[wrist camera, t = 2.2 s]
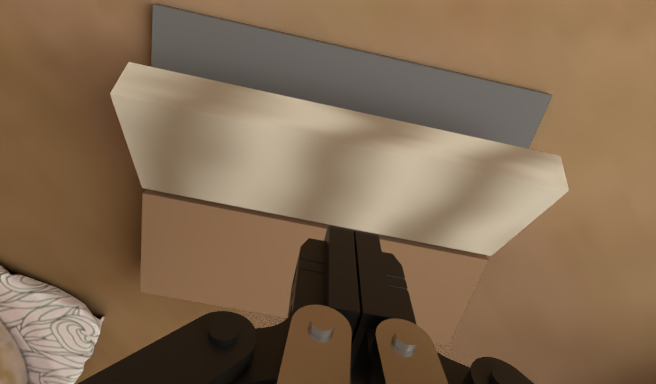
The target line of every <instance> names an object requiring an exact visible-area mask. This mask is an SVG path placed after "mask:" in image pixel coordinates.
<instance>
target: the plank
mask: <svg viewBox="0 0 656 384" xmlns="http://www.w3.org/2000/svg"><path fill="white" fill-rule="evenodd" d="M110 96H111V99H112V101H113V104H114V107H115V110H116V113H117V116H118V119H119V122H120V125H121V128H122V131H123V134H124V136H125V139H126V142H127V145H128V148H129V151H130V154H131V157H132V160H133V163H134V166H135V168H136V171H137V174H138V177H139V180H140V183H141V186H142V188H144V189H150V190H155V191H160V192H165V193H170V194H175V195H180V196H186V197H191V198H196V199H201V200H206V201H211V202H216V203H222V204H227V205H232V206H237V207H242V208H247V209H252V210H257V211H263V212H268V213H273V214H278V215H283V216H288V217H293V218H299V219H304V220H309V221H314V222H319V223H324V224H329V225H334V226H340V227H345V228H350V229H355V230H360V231H365V232H370V233H376V234H381V235H386V236H391V237H396V238H401V239H406V240H412V241H417V242H422V243H427V244H432V245H437V246H442V247H447V248H453V249H458V250H463V251H468V252H473V253H478V254H483V255H489V256H492V255H493V254H494V253H495V252H497V251H498V250H499V249H500V248H501V247H502V246H504V245H505V244H506V243H507V242H508V241H510V240H511V239H512V238H513V237H514V236H516V235H517V234H518V233H519V232H520V231H521V230H523V229H524V228H525V227H526V226H527V225H529V224H530V223H531V222H532V221H533V220H535V219H536V218H537V217H538V216H539V215H540V214H542V213H543V212H544V211H545V210H546V209H548V208H549V207H550V206H551V205H552V204H554V203H555V202H556V201H557V200H558V199H560V198H561V197H562V196H563V195H564V194H565V193H567V192H568V191H569V189H568V184H567V180H566V176H565V172H564V168H563V164H562V160H561V156H559V155H555V154H550V153H545V152H541V151H536V150H532V149H527V148H522V147H518V146H513V145H509V144H504V143H499V142H495V141H490V140H486V139H481V138H476V137H472V136H467V135H463V134H458V133H453V132H449V131H444V130H440V129H435V128H430V127H426V126H421V125H417V124H412V123H407V122H403V121H398V120H394V119H389V118H384V117H380V116H375V115H371V114H366V113H361V112H357V111H352V110H348V109H343V108H338V107H334V106H329V105H325V104H320V103H315V102H311V101H306V100H302V99H297V98H292V97H288V96H283V95H279V94H274V93H269V92H265V91H260V90H256V89H251V88H246V87H242V86H237V85H233V84H228V83H223V82H219V81H214V80H210V79H205V78H200V77H196V76H191V75H187V74H182V73H177V72H173V71H168V70H164V69H159V68H154V67H150V66H145V65H141V64H136V63H131V62H128V64H127V66H126V67H125V69H124V71H123V72H122V74H121V76H120V78H119V79H118V81H117V83H116V84H115V86H114V88H113V89H112V91H111V93H110Z"/></svg>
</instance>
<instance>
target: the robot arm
mask: <svg viewBox="0 0 656 384" xmlns="http://www.w3.org/2000/svg"><path fill="white" fill-rule="evenodd" d="M78 384H534V383H533V382H531V381H530V380H529V379H528V378H527V377H525V376H524V375H523V374H522V373H521V372H519V371H518V370H517V369H516V368H514V367H513V366H511V365H510V364H508V363H506V362H504V361H502V360H499V359H496V358H492V357H481V358H478V359H476V360H475V361H474V362H473V363H472V365H471V367H470V368H469V367H467V366H464V365H462V364H460V363H458V362H455V361H453V360H451V359H448V358H446V357H444V356H442V355H441V354H439V353H437V352H436V349H435V346H434V344H433V342H432V340H431V338H430V337H429V335H428V334H427V333H426V332H425V331H424V330H423V329H422V328H420V327H419V326H417V324H416V320H415V316H414V312H413V308H412V304H411V300H410V296H409V292H408V290H407V284H406V280H405V275H404V271H403V267H402V265H401V264H400V262H399V261H398V260H397V259H396V257H395V256H394V255H393V254H391V253H386V252H382V250H381V245H380V239H379V235H378V234H374V233H369V232H364V231H359V230H353V229H348V228H343V227H338V226H332V225H328V228H327V231H326V235H325V238H324V241H322V240H317V239H311V238H308V239H307V241H306V242H305V243H304V244H303V245H302V246H301V247H300V252H299V256H298V261H297V265H296V269H295V274H294V278H293V283H292V287H291V294H290V302H289V309H288V317H287V319H286V320H285V321H283V322H282V323H280V324H278V325H275V326H272V327H266V328H257V329H255V328H254V326H253V325H252V323H251V322H250V321H249V320H248V319H246V318H245V317H243V316H241V315H239V314H236V313H233V312H227V311H217V312H212V313H208V314H206V315H203V316H201V317H199V318H198V319H196V320H194V321H192V322H190V323H188V324H187V325H185V326H183V327H181V328H179V329H177V330H176V331H174V332H172V333H170V334H168V335H166V336H165V337H163V338H161V339H159V340H157V341H155V342H154V343H152V344H150V345H148V346H146V347H144V348H142V349H141V350H139V351H137V352H135V353H133V354H131V355H130V356H128V357H126V358H124V359H122V360H120V361H119V362H117V363H115V364H113V365H111V366H109V367H108V368H106V369H104V370H102V371H100V372H98V373H97V374H95V375H93V376H91V377H89V378H87V379H86V380H84V381H82V382H80V383H78Z"/></svg>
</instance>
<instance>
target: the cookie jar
mask: <svg viewBox="0 0 656 384" xmlns="http://www.w3.org/2000/svg"><path fill="white" fill-rule="evenodd" d="M104 318H105V317H102V318H101V319H100V320H99V319H98V318H96V317H95V316H93V315H92V313H91V312H90V310H89V309H88V308H87V306H86V305H85V304H84V303H82V302H81V301H79V300H78V299H76V298H75V297H73V296H72V295H70V294H68V293H66V292H64V291H62V290H60V289H59V288H57V287H54V286H51V285H49V284H46V283H43V282H40V281H37V280H35V279H32V278H29V277H26V276H23V275H21V274H18V273H15V272H12V271H10V270H9V269H7V268H6V267H4V266H2V265H1V264H0V384H75V382H76V381H77V379H78V378H79V377H80V375H81V374H82V372H83V368H84V363H85V362H86V360H87V359H89V358H91V357H92V354H93V351H94V346H95V344H96V342H97V339H98V337H99V335H100V330H101V325H102V322H103V320H104Z"/></svg>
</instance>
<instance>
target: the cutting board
mask: <svg viewBox="0 0 656 384" xmlns="http://www.w3.org/2000/svg"><path fill="white" fill-rule="evenodd" d="M151 67H154V68H159V69H164V70H168V71H173V72H177V73H182V74H187V75H191V76H196V77H200V78H205V79H210V80H214V81H219V82H223V83H228V84H233V85H237V86H242V87H246V88H251V89H256V90H260V91H265V92H269V93H274V94H279V95H283V96H288V97H292V98H297V99H302V100H306V101H311V102H315V103H320V104H325V105H329V106H334V107H338V108H343V109H348V110H352V111H357V112H361V113H366V114H371V115H375V116H380V117H384V118H389V119H394V120H398V121H403V122H407V123H412V124H417V125H421V126H426V127H430V128H435V129H440V130H444V131H449V132H453V133H458V134H463V135H467V136H472V137H476V138H481V139H486V140H490V141H495V142H499V143H504V144H509V145H513V146H518V147H522V148H527V149H529V146H530V144H531V142H532V140H533V138H534V135H535V133H536V131H537V129H538V127H539V124H540V122H541V120H542V118H543V115H544V113H545V111H546V109H547V107H548V104H549V102H550V100H551V98H552V95H550V94H548V93H545V92H540V91H536V90H531V89H527V88H523V87H518V86H514V85H510V84H505V83H501V82H497V81H492V80H488V79H484V78H479V77H475V76H470V75H466V74H462V73H457V72H453V71H449V70H444V69H440V68H436V67H431V66H427V65H422V64H418V63H414V62H409V61H405V60H401V59H396V58H392V57H388V56H383V55H379V54H374V53H370V52H366V51H361V50H357V49H353V48H348V47H344V46H340V45H335V44H331V43H327V42H322V41H318V40H313V39H309V38H305V37H300V36H296V35H292V34H287V33H283V32H279V31H274V30H270V29H265V28H261V27H257V26H252V25H248V24H244V23H239V22H235V21H231V20H226V19H222V18H217V17H213V16H209V15H204V14H200V13H196V12H191V11H187V10H183V9H178V8H174V7H170V6H165V5H161V4H153V18H152V52H151ZM328 225H329V224H324V223H319V222H314V221H309V220H304V219H299V218H293V217H288V216H283V215H278V214H273V213H268V212H263V211H257V210H252V209H247V208H242V207H237V206H232V205H227V204H222V203H216V202H211V201H206V200H201V199H196V198H191V197H186V196H180V195H175V194H170V193H165V192H160V191H155V190H150V189H146V190H145V191H144V192H143V193H142V234H141V276H140V292H141V293H147V294H153V295H158V296H164V297H170V298H176V299H181V300H187V301H193V302H198V303H204V304H210V305H215V306H221V307H227V308H233V309H238V310H244V311H250V312H255V313H261V314H267V315H272V316H278V317H284V318H287V317H288V309H289V302H290V294H291V287H292V283H293V278H294V274H295V269H296V265H297V261H298V256H299V252H300V247H301V246H302V245H303V244H304V243H305V242H306V241H307V239H308V238H311V239H317V240H322V241H324V238H325V235H326V231H327V228H328ZM332 226H334V225H332ZM338 227H340V226H338ZM343 228H345V227H343ZM348 229H350V228H348ZM353 230H355V229H353ZM359 231H360V230H359ZM364 232H365V231H364ZM369 233H370V232H369ZM374 234H376V233H374ZM378 235H379V239H380V245H381V250H382V252H386V253H391V254H393V255H394V256H395V257H396V259H397V260H398V261H399V262H400V264H401V265H402V267H403V271H404V275H405V280H406V284H407V290H408V292H409V296H410V300H411V304H412V308H413V312H414V316H415V320H416V324H417V326H419V327H420V328H422V329H423V330H424V331H425V332H426V333H427V334H428V335H429V337H430V338H431V340H432V342H433V344H438V345H443V346H449V344H450V342H451V340H452V338H453V336H454V334H455V332H456V329H457V327H458V325H459V323H460V321H461V319H462V316H463V314H464V312H465V310H466V308H467V306H468V304H469V301H470V299H471V297H472V295H473V293H474V291H475V289H476V286H477V284H478V282H479V280H480V278H481V276H482V274H483V271H484V269H485V267H486V265H487V263H488V261H489V260H488V258H487V257H486V255H483V254H478V253H473V252H468V251H463V250H458V249H453V248H447V247H442V246H437V245H432V244H427V243H422V242H417V241H412V240H406V239H401V238H396V237H391V236H386V235H381V234H378Z"/></svg>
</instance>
